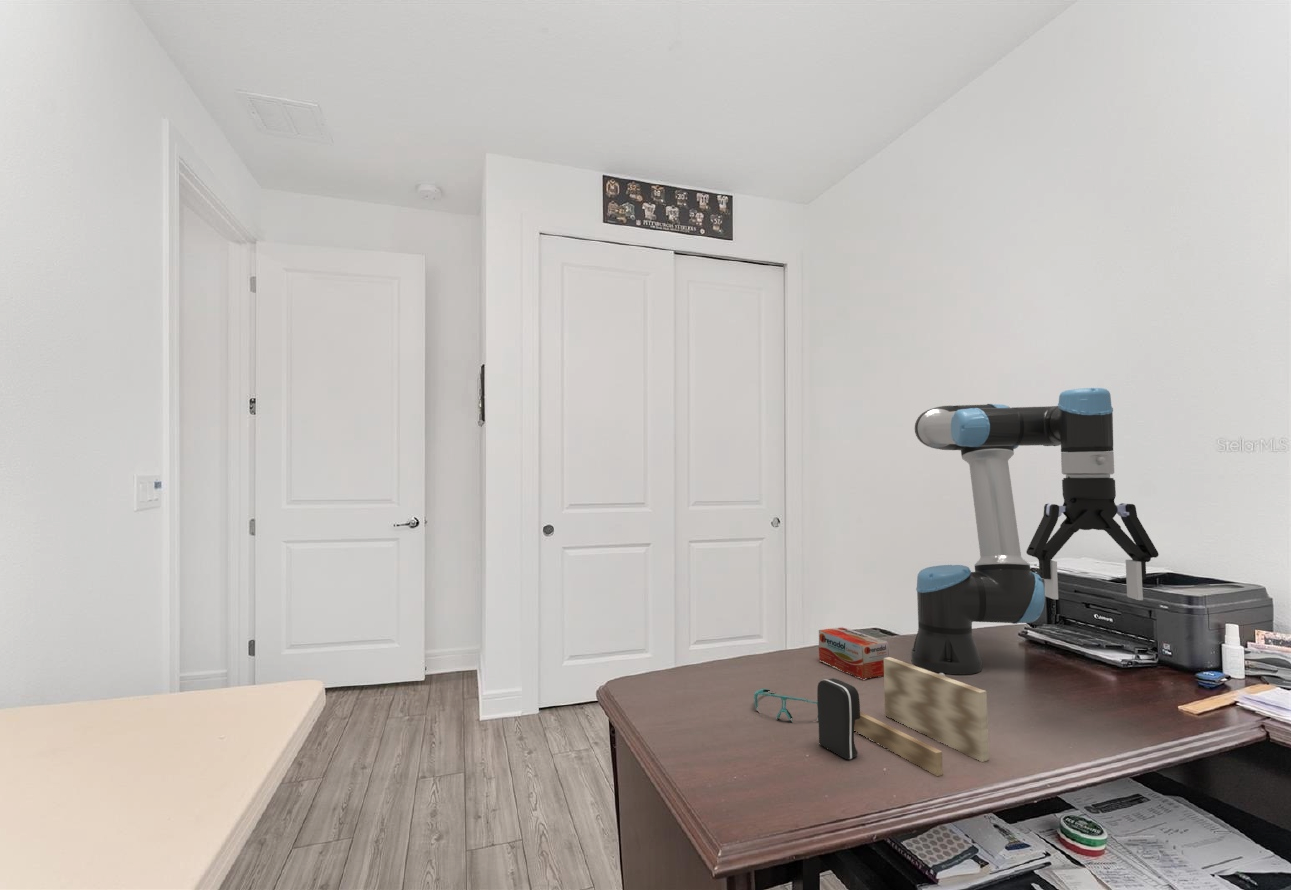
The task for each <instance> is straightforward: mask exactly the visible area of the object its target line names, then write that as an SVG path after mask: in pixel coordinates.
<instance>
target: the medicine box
mask: <svg viewBox="0 0 1291 890" xmlns="http://www.w3.org/2000/svg"><path fill="white" fill-rule="evenodd" d="M818 655H819V658H818V660H821V661H824V662H826V663H828V664H830V665H831V666H835V667H837V668H838V669H840V670H842V671H844V672H848V673H850V674H852V675H854V676H856V677H860V678H862V679H865V678H870V677H873V678H878V677H877V676H882V677H884V676H883V675H884V658H887V657H890V656H889V655H890V653H889V643H888V641H887V640H882V639H880V638H877V637H875V636H872V635H868V634H864V633H862V632H859V631H855V630H852V629H849V628H847V627H844V626H840V627H833V628H826V629H825V628H824V629H819V630H818ZM842 671H841V672H842ZM844 672H843V673H844Z"/></svg>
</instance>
